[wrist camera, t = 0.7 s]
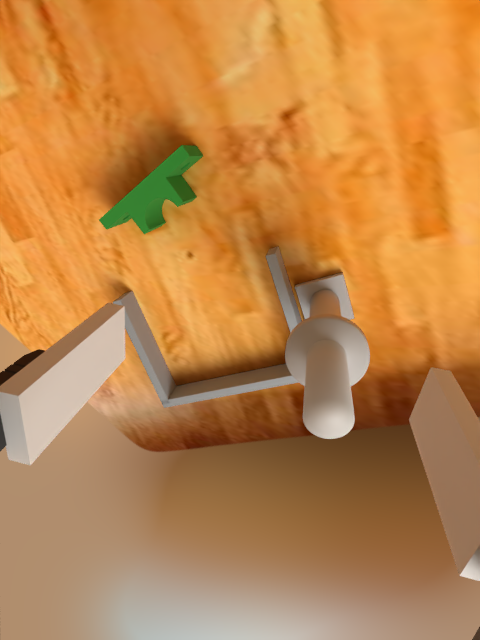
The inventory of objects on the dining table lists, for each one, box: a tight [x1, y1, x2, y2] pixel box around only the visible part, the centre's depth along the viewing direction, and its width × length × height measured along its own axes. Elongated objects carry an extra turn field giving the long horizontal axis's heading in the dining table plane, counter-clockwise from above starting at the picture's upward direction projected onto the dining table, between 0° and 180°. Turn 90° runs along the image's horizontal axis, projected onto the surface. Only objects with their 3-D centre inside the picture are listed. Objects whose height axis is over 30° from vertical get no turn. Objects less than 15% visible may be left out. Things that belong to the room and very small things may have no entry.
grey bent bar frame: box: [113, 246, 370, 439], centre depth 34 cm, size 14×25×20 cm, turn 109°
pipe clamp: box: [99, 145, 203, 234], centre depth 37 cm, size 11×4×5 cm, turn 126°
